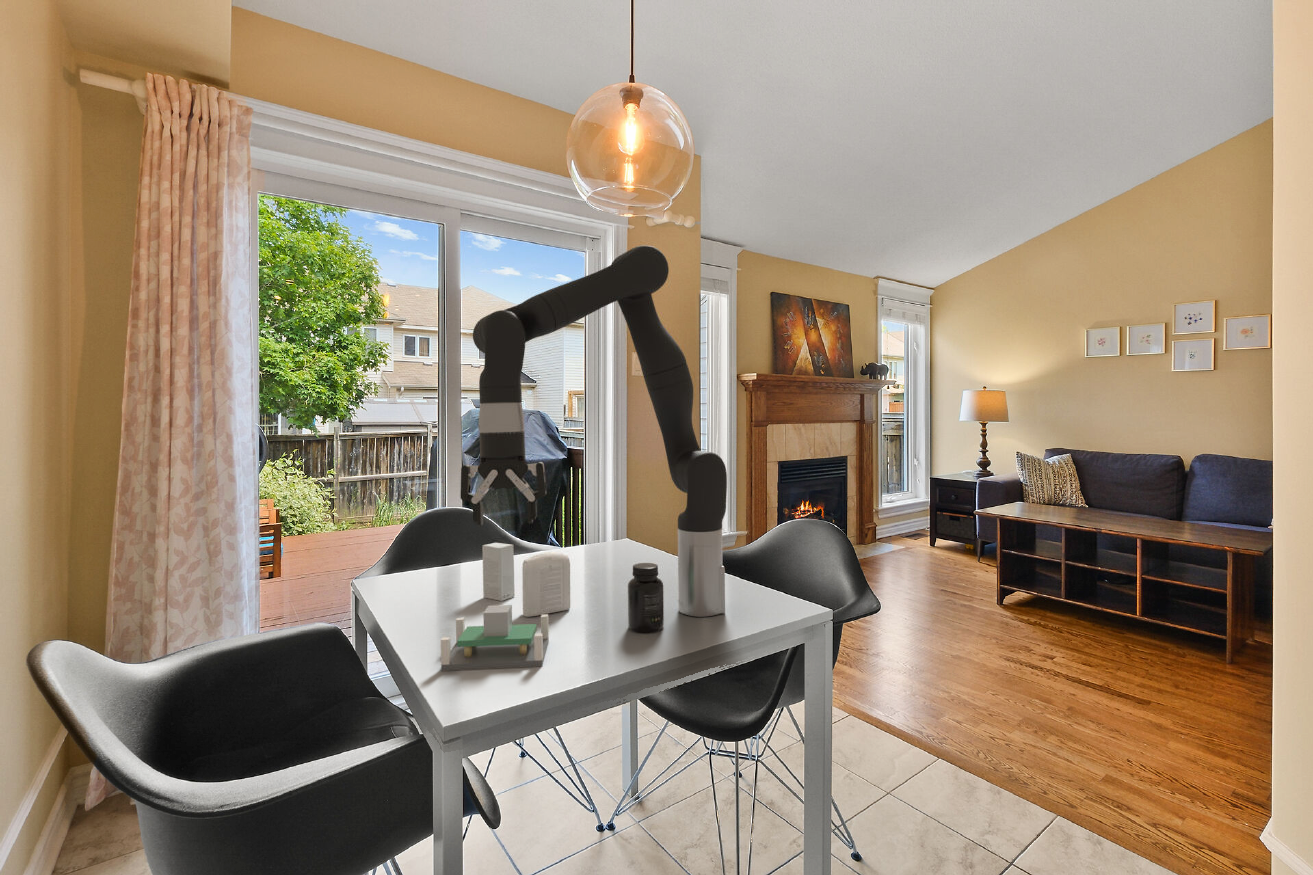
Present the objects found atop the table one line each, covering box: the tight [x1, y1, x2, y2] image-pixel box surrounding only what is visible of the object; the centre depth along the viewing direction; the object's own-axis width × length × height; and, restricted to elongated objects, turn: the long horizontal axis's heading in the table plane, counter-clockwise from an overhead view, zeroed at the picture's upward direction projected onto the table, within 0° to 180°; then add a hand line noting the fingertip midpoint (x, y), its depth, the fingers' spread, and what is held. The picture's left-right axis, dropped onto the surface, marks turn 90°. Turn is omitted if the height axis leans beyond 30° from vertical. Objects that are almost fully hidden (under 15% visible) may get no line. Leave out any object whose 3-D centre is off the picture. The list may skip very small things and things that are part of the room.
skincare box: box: [481, 542, 516, 602], centre depth 138 cm, size 6×4×12 cm
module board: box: [457, 604, 538, 647], centre depth 103 cm, size 12×7×5 cm, turn 94°
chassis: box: [440, 613, 550, 672], centre depth 103 cm, size 16×11×5 cm
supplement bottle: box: [627, 562, 665, 634], centre depth 116 cm, size 7×7×12 cm
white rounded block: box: [521, 551, 571, 618], centre depth 127 cm, size 10×4×12 cm, turn 123°
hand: (505, 523), depth 105 cm, fingers open, 8 cm apart
